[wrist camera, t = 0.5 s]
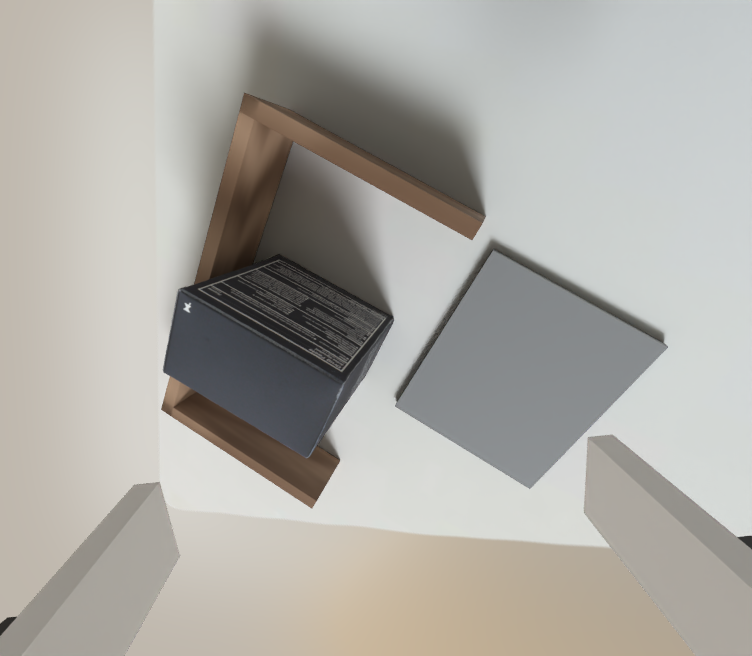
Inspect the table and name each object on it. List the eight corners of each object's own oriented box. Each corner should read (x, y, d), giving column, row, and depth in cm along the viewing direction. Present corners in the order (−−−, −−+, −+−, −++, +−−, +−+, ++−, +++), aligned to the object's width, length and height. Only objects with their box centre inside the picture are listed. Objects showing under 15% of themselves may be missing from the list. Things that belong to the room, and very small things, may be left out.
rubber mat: (493, 249, 25) (493, 250, 24) (664, 343, 24) (668, 347, 23) (396, 402, 31) (394, 406, 30) (529, 483, 30) (529, 488, 29)
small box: (255, 320, 32) (155, 374, 23) (277, 251, 30) (174, 281, 20) (363, 382, 31) (304, 466, 22) (397, 316, 29) (346, 380, 19)
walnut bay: (289, 109, 26) (244, 92, 21) (485, 216, 24) (482, 223, 20) (202, 382, 37) (161, 409, 32) (336, 467, 35) (312, 508, 31)
